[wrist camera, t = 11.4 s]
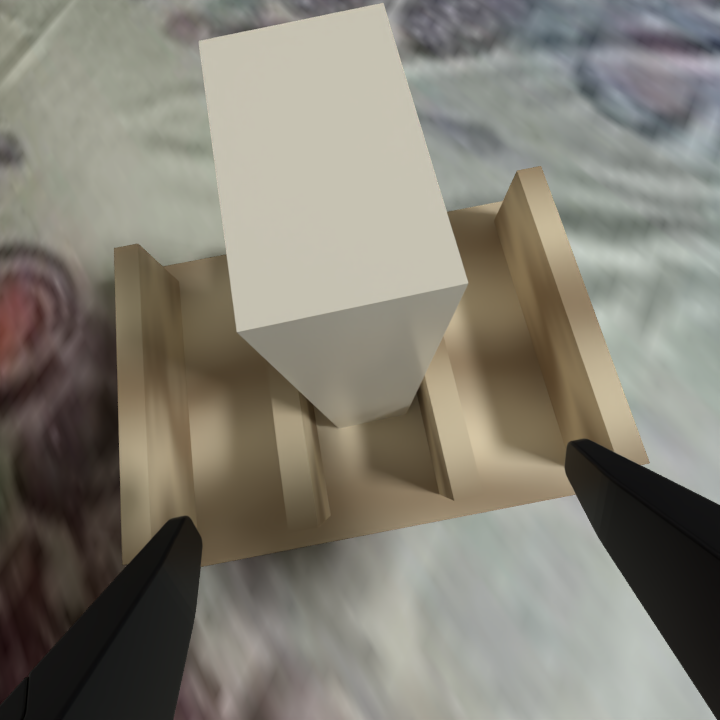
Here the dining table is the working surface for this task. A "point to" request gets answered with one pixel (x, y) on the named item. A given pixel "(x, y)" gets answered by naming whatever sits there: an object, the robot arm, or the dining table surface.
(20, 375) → the dining table surface
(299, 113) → the cream rectangular block
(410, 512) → the ridged tan cradle
